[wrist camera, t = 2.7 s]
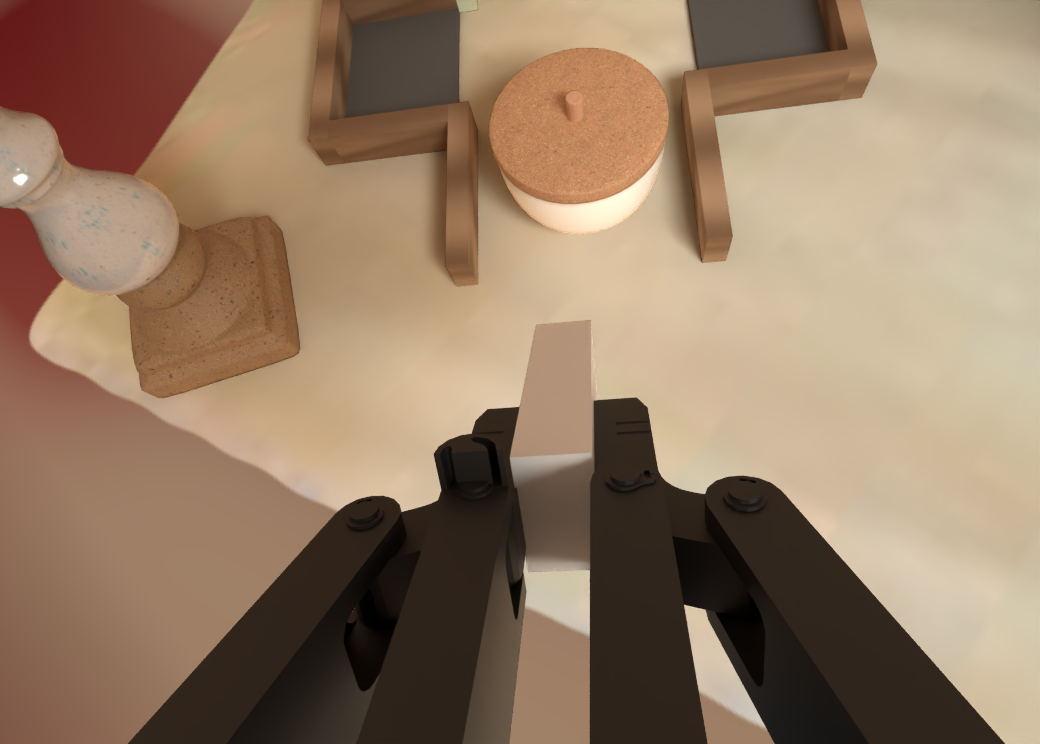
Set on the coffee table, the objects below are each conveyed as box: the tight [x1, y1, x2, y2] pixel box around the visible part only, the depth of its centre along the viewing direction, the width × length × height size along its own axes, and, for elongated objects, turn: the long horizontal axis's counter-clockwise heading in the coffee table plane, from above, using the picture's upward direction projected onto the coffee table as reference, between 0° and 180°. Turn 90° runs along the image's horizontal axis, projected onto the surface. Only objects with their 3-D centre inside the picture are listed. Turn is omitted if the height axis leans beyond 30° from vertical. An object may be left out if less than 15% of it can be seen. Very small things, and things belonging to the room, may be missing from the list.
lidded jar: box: [489, 48, 669, 234], centre depth 41 cm, size 11×11×9 cm
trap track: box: [308, 0, 877, 286], centre depth 47 cm, size 36×39×6 cm
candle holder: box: [0, 106, 300, 398], centre depth 36 cm, size 11×11×24 cm
